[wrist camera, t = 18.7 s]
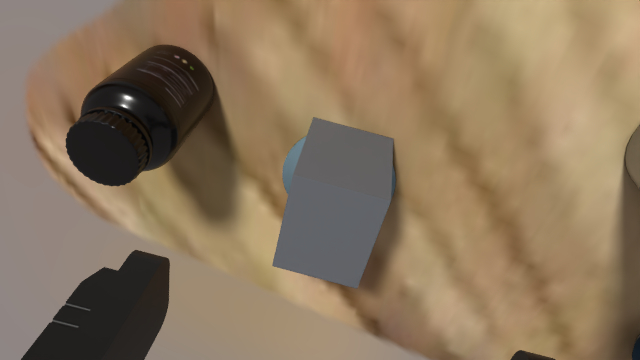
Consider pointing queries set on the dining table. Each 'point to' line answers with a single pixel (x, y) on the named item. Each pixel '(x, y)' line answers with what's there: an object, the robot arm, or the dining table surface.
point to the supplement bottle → (140, 115)
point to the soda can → (636, 349)
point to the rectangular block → (335, 203)
